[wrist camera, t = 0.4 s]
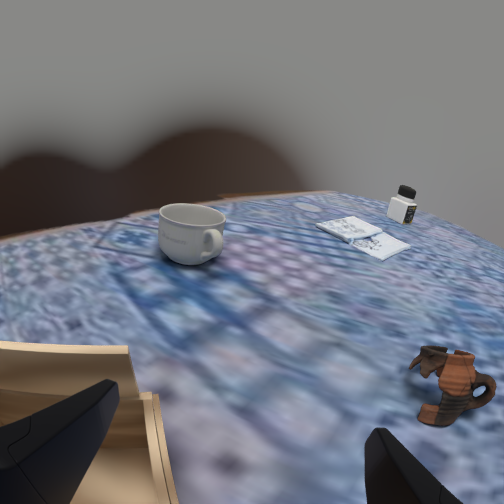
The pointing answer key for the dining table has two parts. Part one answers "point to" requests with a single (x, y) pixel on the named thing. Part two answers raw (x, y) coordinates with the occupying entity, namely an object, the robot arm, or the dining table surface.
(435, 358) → the brown wooden arch
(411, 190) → the medicine bottle
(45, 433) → the robot arm
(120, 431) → the tan wooden open box
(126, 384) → the flap
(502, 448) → the dining table surface
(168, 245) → the teacup
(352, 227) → the white open book
